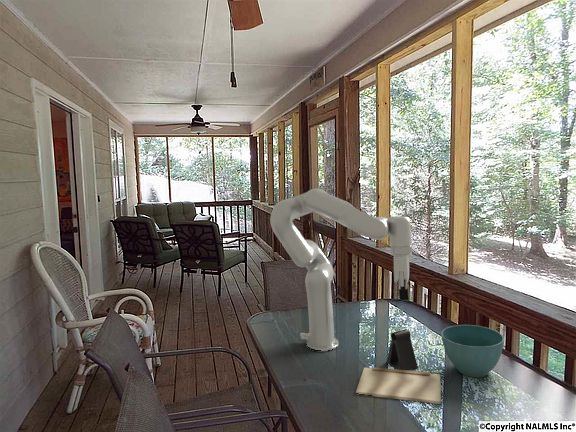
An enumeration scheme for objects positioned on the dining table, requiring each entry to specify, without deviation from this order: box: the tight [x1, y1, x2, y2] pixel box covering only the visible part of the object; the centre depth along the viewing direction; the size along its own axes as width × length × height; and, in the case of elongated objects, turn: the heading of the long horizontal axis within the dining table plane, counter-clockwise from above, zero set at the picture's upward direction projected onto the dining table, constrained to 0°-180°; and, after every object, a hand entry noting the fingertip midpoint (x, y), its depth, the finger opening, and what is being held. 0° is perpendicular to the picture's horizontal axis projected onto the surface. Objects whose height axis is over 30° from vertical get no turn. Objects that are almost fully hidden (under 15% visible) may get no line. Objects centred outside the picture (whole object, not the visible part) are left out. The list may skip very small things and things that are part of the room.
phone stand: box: [386, 328, 419, 371], centre depth 139 cm, size 9×6×12 cm, turn 24°
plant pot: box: [440, 324, 505, 378], centre depth 131 cm, size 18×18×12 cm
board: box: [355, 366, 442, 405], centre depth 126 cm, size 24×16×1 cm, turn 71°
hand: (403, 299), depth 150 cm, fingers closed
